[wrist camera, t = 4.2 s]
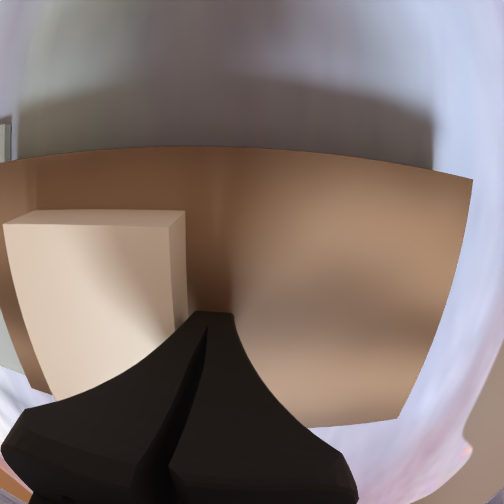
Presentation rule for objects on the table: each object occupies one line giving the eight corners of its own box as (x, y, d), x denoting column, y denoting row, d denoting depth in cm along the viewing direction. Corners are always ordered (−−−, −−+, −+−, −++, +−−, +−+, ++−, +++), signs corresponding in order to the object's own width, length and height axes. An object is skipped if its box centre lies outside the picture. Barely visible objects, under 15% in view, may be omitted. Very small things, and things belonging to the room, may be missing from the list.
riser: (380, 382, 16) (397, 418, 13) (53, 358, 15) (31, 387, 12) (433, 170, 12) (473, 179, 9) (16, 160, 11) (-24, 167, 8)
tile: (194, 397, 12) (187, 432, 10) (74, 377, 12) (57, 404, 10) (185, 210, 9) (168, 227, 7) (35, 210, 9) (2, 224, 7)
